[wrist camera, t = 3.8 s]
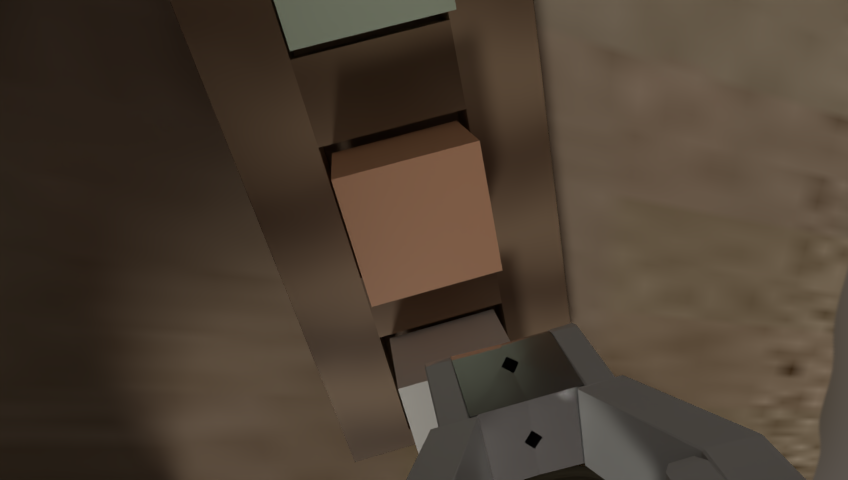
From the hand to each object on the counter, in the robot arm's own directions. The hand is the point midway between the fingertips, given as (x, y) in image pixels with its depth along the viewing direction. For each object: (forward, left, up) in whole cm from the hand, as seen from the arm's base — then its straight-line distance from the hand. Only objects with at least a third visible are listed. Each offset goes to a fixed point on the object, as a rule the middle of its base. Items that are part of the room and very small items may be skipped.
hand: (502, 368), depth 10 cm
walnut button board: (0, 0, -15) cm, 14 cm away
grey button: (-9, 0, -12) cm, 15 cm away
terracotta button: (0, 0, -12) cm, 12 cm away
